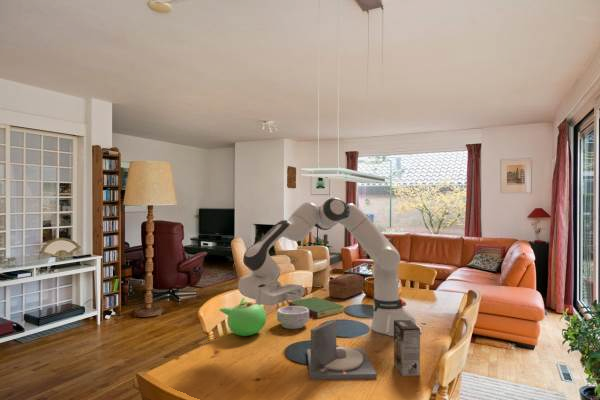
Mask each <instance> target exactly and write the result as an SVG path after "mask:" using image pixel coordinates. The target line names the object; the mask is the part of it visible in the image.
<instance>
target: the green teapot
mask: <svg viewBox="0 0 600 400" xmlns="http://www.w3.org/2000/svg"><path fill="white" fill-rule="evenodd" d="M219 311H220V312H221V313H223V314H225V315H226V316H227V326H228V328H229V330H230V331H231V332H232V333H233V334H235V335H236V336H241V337H248V336H253V335H256V334H257V333H259V332H260V331H261V330H262V329H263V328H264V327H265V325H266V322H267V313H266V311H265V309H264V307H263V306H262V305H258V304H256V302H252V301H247V300H246V297H243V298H241V300H240V303H238V304H236V305H235V306H234V307H232V308H230V307H221V308H219Z"/></svg>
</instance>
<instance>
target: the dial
mask: <svg viewBox="0 0 600 400" xmlns="http://www.w3.org/2000/svg"><path fill="white" fill-rule="evenodd" d="M310 349H311V371H312V372H316V371H318V370H319V369H321V368H323V367H324V368H327V369H331V370H339V371H344V370H352V369H355V368H358V367H360V366H361V365H362V363H363V356H362V354H361V353H360V352H358V351H356V350H354V349H351V348H350V347H345V346H337V320H334V319H331V320H330V321H329V320H328V321H327V322H325V323H323V324H321V325H317V326H316V327H314V328H311V329H310Z"/></svg>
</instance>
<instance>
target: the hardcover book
mask: <svg viewBox="0 0 600 400" xmlns="http://www.w3.org/2000/svg"><path fill="white" fill-rule="evenodd" d="M288 306H302V307H306V308H308V309H309V317H312V318H314V319H320V318H324V317H328V316H332V315H333V316H334V315H336V314H340V313H343V312H344V305H342V304H339V303H336V302H333V301H329V300H327V299H323V298H319V297H316V296H311V297H307V298H302V299H300V300H297V301H295V300H291V301H288Z"/></svg>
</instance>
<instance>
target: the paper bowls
mask: <svg viewBox="0 0 600 400" xmlns="http://www.w3.org/2000/svg"><path fill="white" fill-rule="evenodd" d="M276 320H277V322H278V323H280V324H281V326H282V327H283V328H284V329H288V330H297V329H299V330H300V329H301V328H303V327H304V326H305V324H306V323H307V322H309V321H310V316H309V309H308V308H306V307H302V306H289V305H288V306H283V307H279V308H277V311H276Z"/></svg>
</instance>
